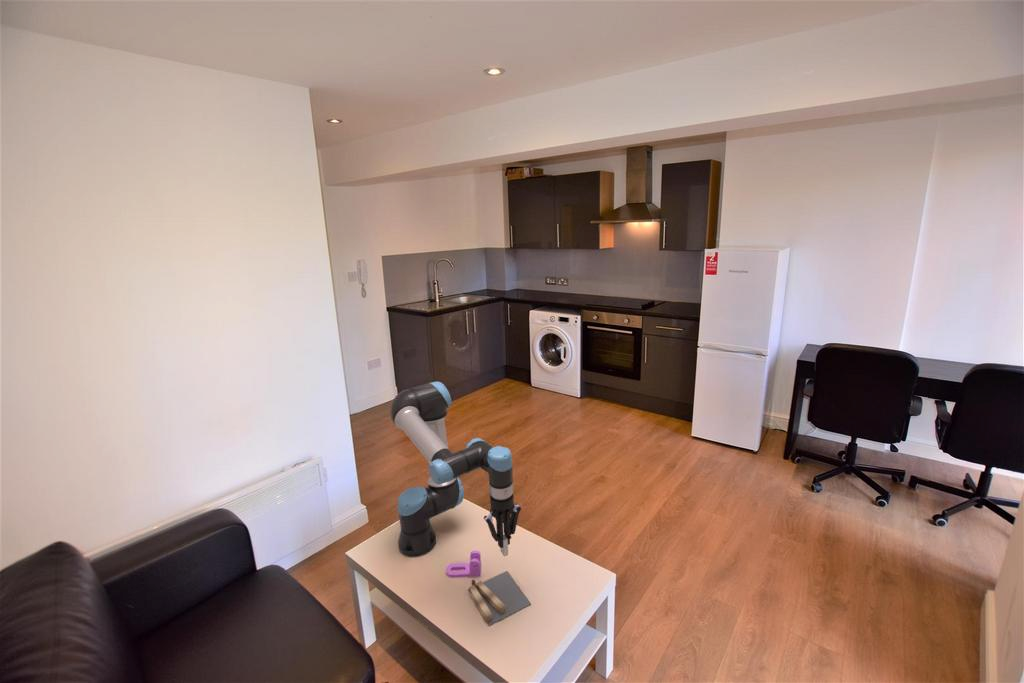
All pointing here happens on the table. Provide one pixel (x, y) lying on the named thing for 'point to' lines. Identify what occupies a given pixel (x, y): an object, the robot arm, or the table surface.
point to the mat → (505, 596)
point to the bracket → (466, 567)
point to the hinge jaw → (490, 597)
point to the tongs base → (480, 602)
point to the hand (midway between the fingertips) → (504, 553)
